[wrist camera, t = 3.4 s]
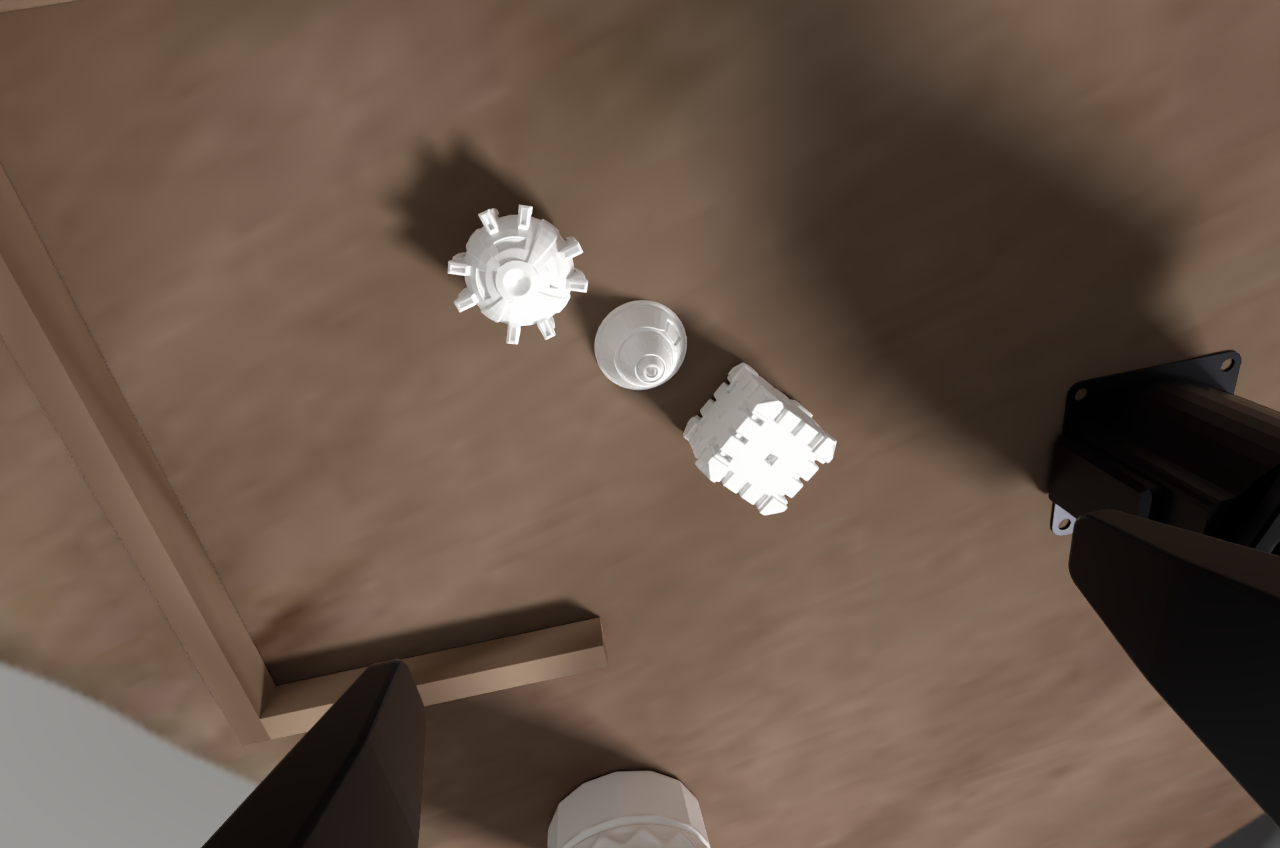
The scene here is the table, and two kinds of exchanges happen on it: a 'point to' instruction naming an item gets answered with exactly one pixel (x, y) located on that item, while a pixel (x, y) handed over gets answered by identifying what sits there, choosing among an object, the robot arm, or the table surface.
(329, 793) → the robot arm
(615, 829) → the white cup
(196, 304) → the table surface
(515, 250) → the game pieces
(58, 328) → the rail corral
